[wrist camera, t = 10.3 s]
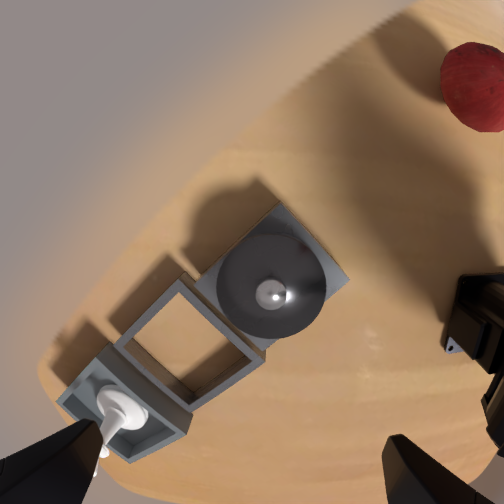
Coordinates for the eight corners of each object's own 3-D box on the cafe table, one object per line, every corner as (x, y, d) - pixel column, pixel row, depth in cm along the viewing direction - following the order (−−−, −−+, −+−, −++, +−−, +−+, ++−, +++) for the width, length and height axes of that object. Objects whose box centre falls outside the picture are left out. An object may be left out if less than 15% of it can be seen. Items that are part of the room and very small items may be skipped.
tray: (109, 341, 22) (95, 356, 19) (193, 414, 23) (186, 434, 20) (68, 387, 24) (55, 401, 21) (137, 447, 25) (129, 463, 22)
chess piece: (89, 385, 23) (31, 458, 13) (131, 381, 22) (74, 467, 12) (116, 426, 23) (71, 500, 14) (158, 424, 23) (118, 511, 13)
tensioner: (269, 189, 18) (269, 192, 15) (351, 279, 19) (368, 302, 16) (121, 335, 22) (98, 361, 18) (194, 400, 23) (182, 434, 19)
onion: (410, 60, 16) (469, 13, 8) (470, 64, 15) (533, 33, 7) (431, 139, 17) (506, 124, 9) (489, 136, 16) (563, 128, 8)
